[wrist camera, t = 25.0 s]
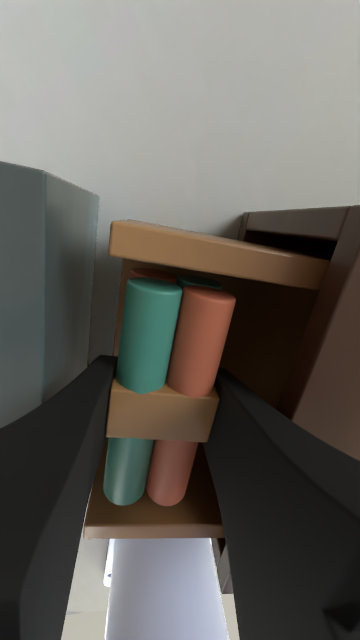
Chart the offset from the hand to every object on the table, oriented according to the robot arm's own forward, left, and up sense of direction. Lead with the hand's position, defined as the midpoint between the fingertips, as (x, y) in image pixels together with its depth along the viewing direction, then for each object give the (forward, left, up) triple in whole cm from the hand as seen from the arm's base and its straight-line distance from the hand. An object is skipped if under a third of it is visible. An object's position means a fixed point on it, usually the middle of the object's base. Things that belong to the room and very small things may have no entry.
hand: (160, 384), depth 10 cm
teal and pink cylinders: (0, 0, -1) cm, 1 cm away
